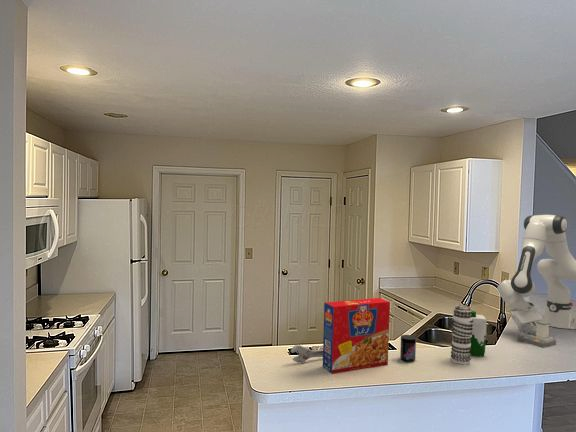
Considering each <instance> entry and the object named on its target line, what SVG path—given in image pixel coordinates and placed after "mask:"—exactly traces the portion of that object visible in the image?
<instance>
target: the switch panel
mask: <svg viewBox="0 0 576 432" xmlns="http://www.w3.org/2000/svg"><path fill="white" fill-rule="evenodd" d="M517 341H518V342H519V341H520V342H524V343H526V344H530V345H533V346H535V347H536V346H537V347H540V348H543V349H544V348H546V347H550V346H555V345H556V344H557V340H556V339H554V337H552V336H548V339H543V338H540V337H536V332H530V331H527V332H525V331H521V333H520V335H518V337H517Z"/></svg>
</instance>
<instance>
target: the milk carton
mask: <svg viewBox="0 0 576 432" xmlns="http://www.w3.org/2000/svg"><path fill="white" fill-rule="evenodd" d="M471 317H472V320H473V322H471V324H472V325H473V326H472V327H471V328H472V329H473V330H471V332H472V334H471V335H472V337H471V338H470V339H471V341H470V342H471V349H470V350H471V352H470V354H471V357H473V356H474V357H481V358H482V357H485V353H486V345H487V341H486V340H487V318H486V317H485V316H484V314H477V312H476V311H474V310H472V315H471Z"/></svg>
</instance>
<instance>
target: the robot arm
mask: <svg viewBox="0 0 576 432" xmlns="http://www.w3.org/2000/svg"><path fill="white" fill-rule="evenodd" d="M523 229H524V232H523V236H522V242H521V252H520V254H521V255H520V259H519V262H518V267H517V270H516V272H515V274H514V275H513V276H512V278H511V279H504V280H502V281H501V282H500V283H499V284H498V285H497V287H496V289H497V292H498V295H499V296H500V297H501V298H502V300H503V301H504V302H505V303H506V304H507V306H508V308H509V310H510V311H509V314H510V317H511V319H512V321H513V322H514V324H515V326H517V327H518V326H519V327H520V326H524V325H528V326H529V327H530V328H531V329H532V330H533V331H534V333H536V330H537V323H536V322H537V321H544V322H548V323H550V324H549V327H553V328H558V329H568V330H576V313H575V312H574V311H573V310H572V307H573V306H574V303H573V302H570V301H571V290H570V288H569V287H568V286H567V285H565V284H564V282H563V280H567V281H576V259H575V258H574V256H573V255H572V253H571V251H570V250H569V246H568V240H567V234H566V231H567V229H568V220H567V218H566V217H565V216H564V215H559V214H557V215H555V214H537V215H536V214H535V215H534V214H532V215H528V216H526V217H525V218H524V221H523ZM544 249H545V251H546V253H547V255H548V256H550V257H552V258H543V259H540V260H539V261H538V263H537V265H536V269H537V271H538V273H539V274H540V275H541V276H542V277H543V279H544V281H545V282H546V285H547V300H546V307H545V308H544V311H543V314H541V313H540V311H539V310H538V308H536V307H535V306H536V305H535V304H534V303H533V302H530V301H527V300H526V299H524V298H527V297H530V296H532V295H534V293H535V292H536V288H537V287H536V284H535V282H534V281H533V280H532V278H531V272H532V270H533V265H534V261H535V260H536V259H537V258H538V257H539V256H541V255H542V254H543V252H544Z"/></svg>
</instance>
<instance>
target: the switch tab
mask: <svg viewBox="0 0 576 432" xmlns="http://www.w3.org/2000/svg"><path fill="white" fill-rule="evenodd" d="M536 323H537V330H536V332H535V333H536V337H540V338H543V339H548V337H549V333H550V326H549V324H550V323H548V322H544V321H537V322H536Z"/></svg>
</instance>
